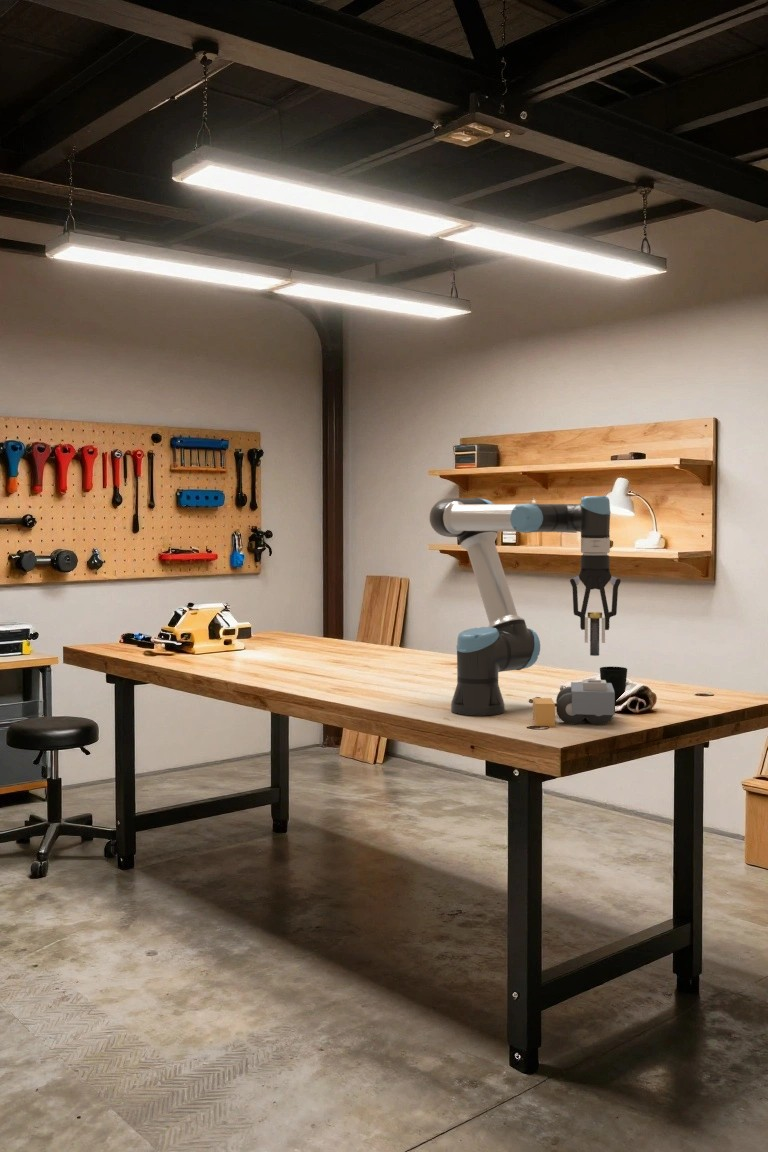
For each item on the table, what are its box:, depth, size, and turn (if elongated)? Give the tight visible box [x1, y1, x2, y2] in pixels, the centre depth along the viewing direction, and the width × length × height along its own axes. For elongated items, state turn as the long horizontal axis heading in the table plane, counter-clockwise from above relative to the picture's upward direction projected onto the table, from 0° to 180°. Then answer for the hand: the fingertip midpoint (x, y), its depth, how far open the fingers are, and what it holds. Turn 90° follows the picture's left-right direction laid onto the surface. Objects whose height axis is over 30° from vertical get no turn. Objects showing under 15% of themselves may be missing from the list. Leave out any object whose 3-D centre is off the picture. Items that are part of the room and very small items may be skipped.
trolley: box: [555, 679, 616, 726], centre depth 278 cm, size 15×16×11 cm
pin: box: [587, 611, 603, 657], centre depth 274 cm, size 4×4×11 cm
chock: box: [532, 697, 556, 727], centre depth 275 cm, size 5×9×6 cm, turn 177°
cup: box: [599, 666, 628, 704], centre depth 292 cm, size 8×8×12 cm
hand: (594, 642), depth 274 cm, fingers closed on pin, 4 cm apart
